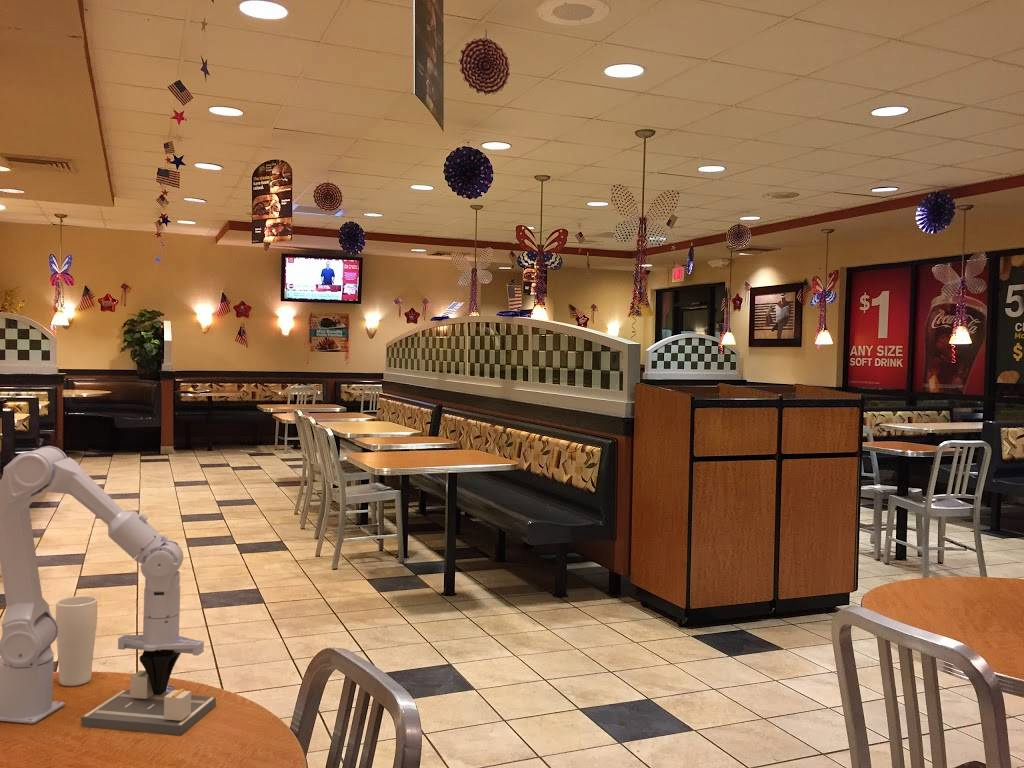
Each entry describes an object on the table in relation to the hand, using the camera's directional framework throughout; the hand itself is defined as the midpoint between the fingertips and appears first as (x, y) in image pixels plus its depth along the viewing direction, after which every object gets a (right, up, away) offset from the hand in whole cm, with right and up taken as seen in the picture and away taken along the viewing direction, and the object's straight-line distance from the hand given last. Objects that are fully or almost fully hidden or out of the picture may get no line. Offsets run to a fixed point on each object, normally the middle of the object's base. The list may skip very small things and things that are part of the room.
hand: (159, 692), depth 146 cm
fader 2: (+6, -1, -8) cm, 10 cm away
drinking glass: (-20, -2, +10) cm, 22 cm away
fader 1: (-3, 0, 0) cm, 3 cm away
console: (0, -3, -3) cm, 4 cm away
